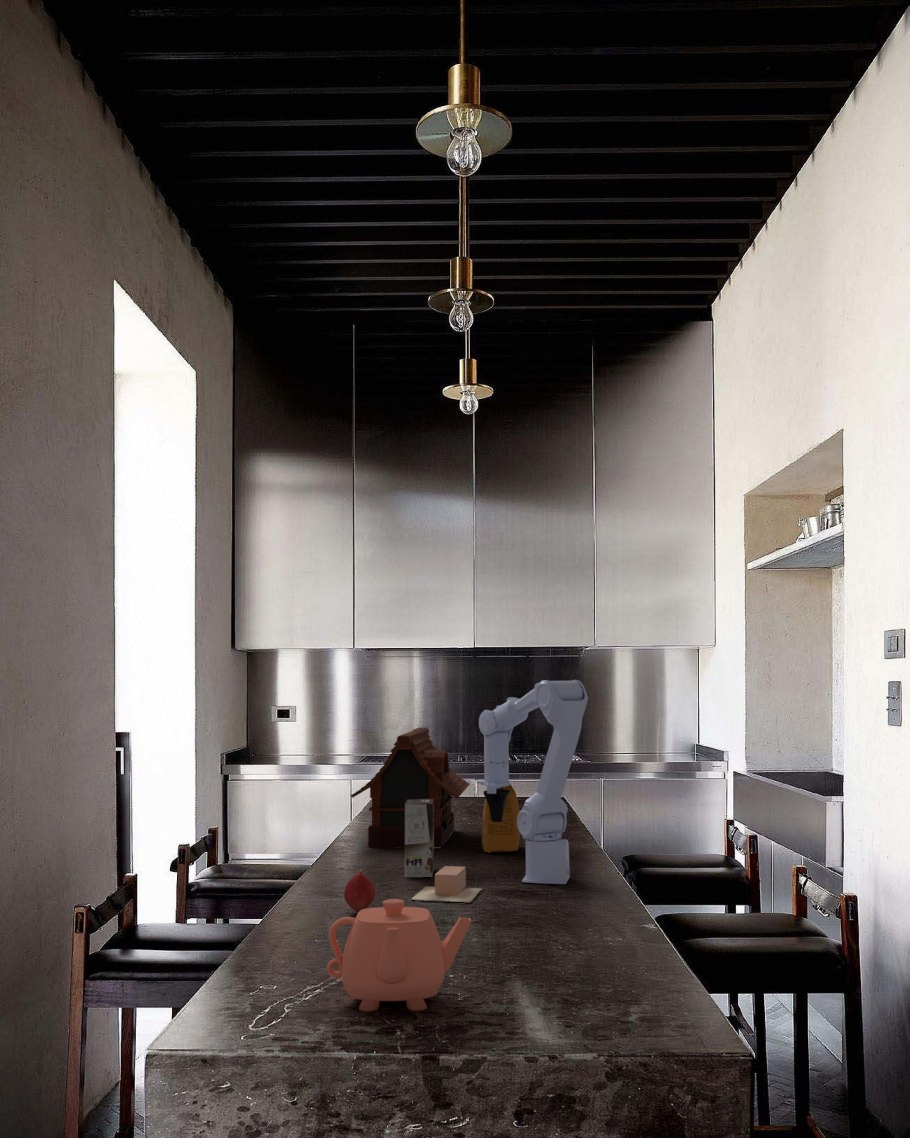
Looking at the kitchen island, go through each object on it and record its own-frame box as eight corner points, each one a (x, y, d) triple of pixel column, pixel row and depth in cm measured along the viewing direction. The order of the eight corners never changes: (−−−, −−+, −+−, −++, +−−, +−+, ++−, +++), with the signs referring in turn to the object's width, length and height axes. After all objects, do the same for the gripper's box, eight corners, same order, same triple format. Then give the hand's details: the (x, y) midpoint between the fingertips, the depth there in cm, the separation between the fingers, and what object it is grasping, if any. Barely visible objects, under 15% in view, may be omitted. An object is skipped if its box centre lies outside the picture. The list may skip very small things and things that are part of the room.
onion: (338, 914, 190) (338, 871, 191) (355, 908, 195) (355, 865, 196) (364, 918, 187) (364, 873, 188) (380, 911, 192) (380, 868, 193)
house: (458, 850, 257) (458, 735, 260) (348, 849, 260) (349, 734, 263) (471, 829, 291) (471, 727, 294) (374, 828, 294) (374, 727, 297)
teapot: (476, 997, 142) (475, 898, 143) (393, 1031, 129) (393, 922, 130) (392, 975, 152) (391, 883, 153) (307, 1005, 139) (308, 904, 140)
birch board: (481, 890, 210) (481, 888, 210) (470, 903, 198) (470, 901, 198) (425, 888, 213) (425, 886, 213) (411, 901, 201) (411, 898, 201)
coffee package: (522, 846, 263) (521, 760, 265) (520, 854, 250) (519, 764, 253) (484, 845, 264) (483, 759, 266) (479, 854, 251) (479, 764, 254)
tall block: (465, 866, 213) (456, 875, 204) (465, 886, 212) (456, 895, 204) (444, 866, 214) (434, 874, 205) (444, 885, 213) (434, 894, 205)
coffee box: (433, 878, 223) (432, 803, 225) (403, 878, 223) (403, 803, 225) (434, 869, 232) (434, 798, 234) (406, 869, 232) (406, 798, 234)
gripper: (485, 759, 244) (485, 816, 243) (473, 765, 230) (474, 826, 229) (514, 759, 243) (514, 817, 241) (504, 765, 229) (504, 826, 227)
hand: (497, 821), depth 235 cm, fingers closed
